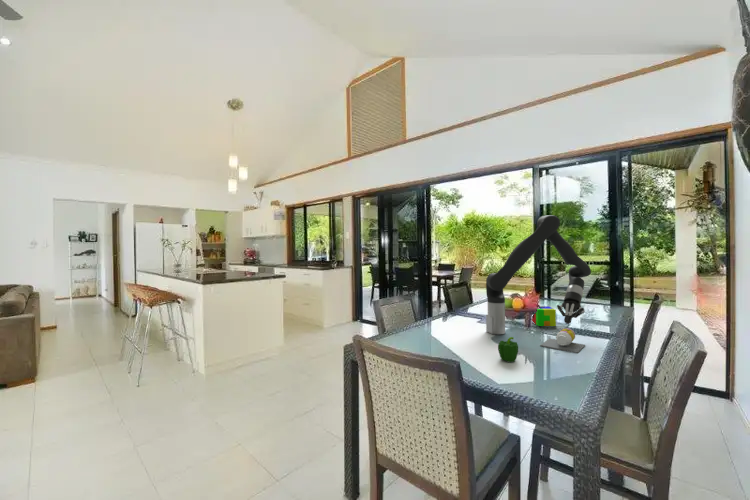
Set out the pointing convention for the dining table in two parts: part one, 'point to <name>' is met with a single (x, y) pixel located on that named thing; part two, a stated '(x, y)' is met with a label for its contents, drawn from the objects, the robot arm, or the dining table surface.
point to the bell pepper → (508, 350)
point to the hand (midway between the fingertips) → (567, 323)
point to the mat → (569, 348)
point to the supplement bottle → (565, 336)
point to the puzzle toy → (545, 316)
